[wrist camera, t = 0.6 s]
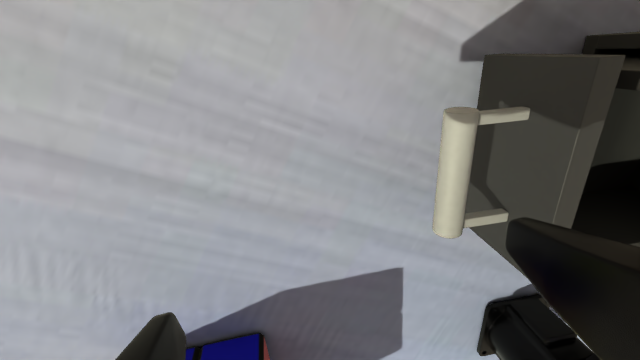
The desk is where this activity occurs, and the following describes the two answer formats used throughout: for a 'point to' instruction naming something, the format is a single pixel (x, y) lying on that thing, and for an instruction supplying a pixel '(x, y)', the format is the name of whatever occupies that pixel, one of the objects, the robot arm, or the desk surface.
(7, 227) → the desk surface
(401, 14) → the desk surface
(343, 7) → the desk surface
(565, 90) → the drawer
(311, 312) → the desk surface
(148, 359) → the robot arm
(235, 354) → the puzzle cube
